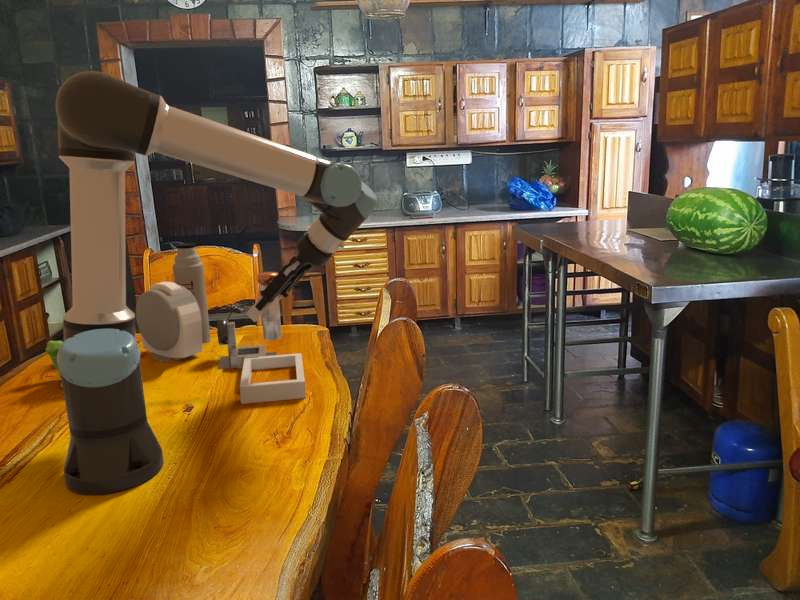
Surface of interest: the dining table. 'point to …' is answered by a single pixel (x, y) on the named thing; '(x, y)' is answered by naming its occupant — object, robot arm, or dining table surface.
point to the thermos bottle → (192, 280)
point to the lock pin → (270, 309)
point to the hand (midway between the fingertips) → (255, 314)
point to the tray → (275, 388)
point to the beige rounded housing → (169, 322)
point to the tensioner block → (235, 347)
